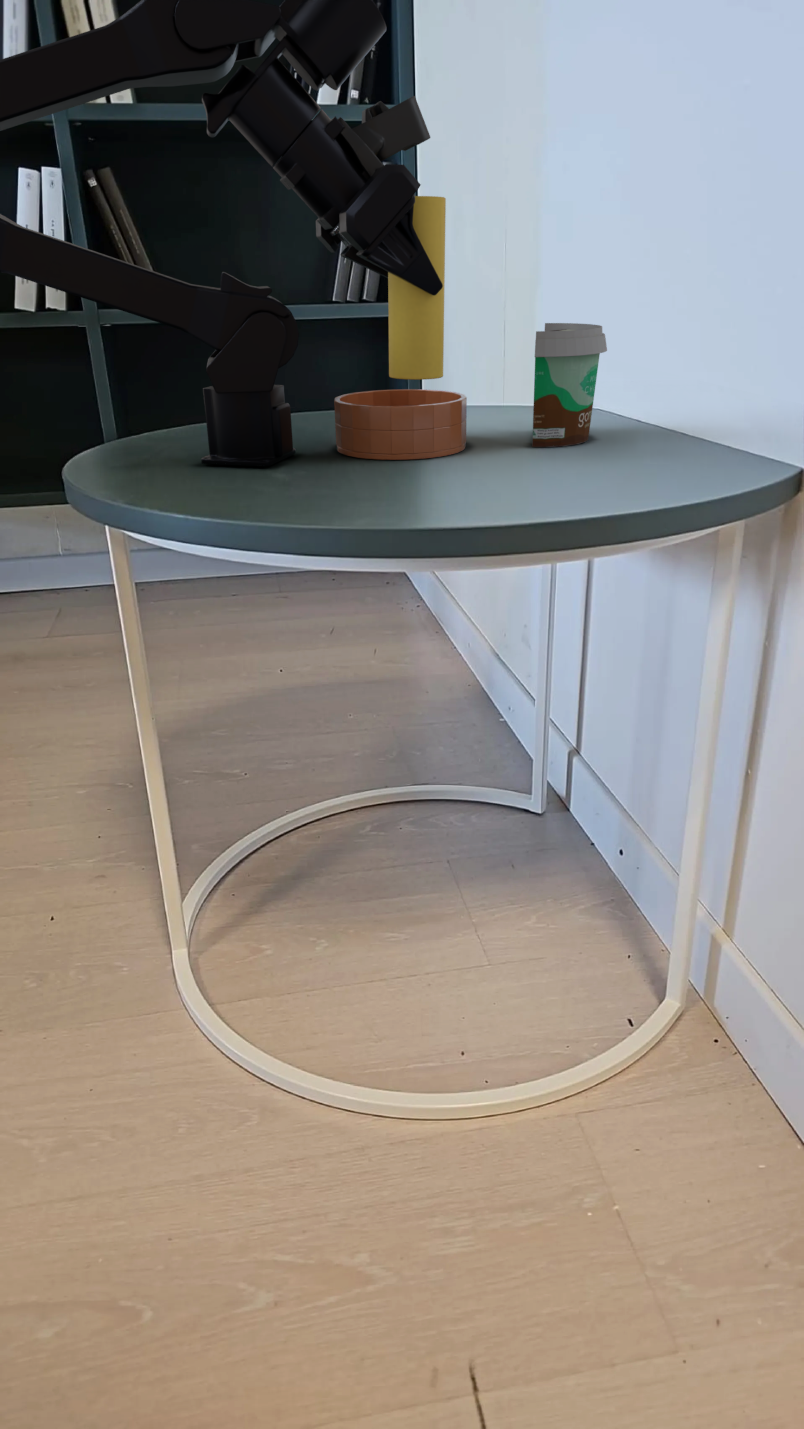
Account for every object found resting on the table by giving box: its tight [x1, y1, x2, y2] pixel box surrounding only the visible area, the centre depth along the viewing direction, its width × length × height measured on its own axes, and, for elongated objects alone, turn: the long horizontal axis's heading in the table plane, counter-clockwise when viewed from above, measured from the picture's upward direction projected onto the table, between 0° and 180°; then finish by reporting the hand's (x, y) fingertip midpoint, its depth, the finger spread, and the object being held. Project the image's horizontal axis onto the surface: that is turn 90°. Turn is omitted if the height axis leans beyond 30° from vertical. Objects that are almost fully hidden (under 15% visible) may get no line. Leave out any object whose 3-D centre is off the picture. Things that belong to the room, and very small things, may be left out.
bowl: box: [333, 388, 468, 461], centre depth 89 cm, size 12×12×4 cm
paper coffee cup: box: [531, 322, 608, 448], centre depth 90 cm, size 12×6×10 cm, turn 168°
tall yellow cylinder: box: [387, 195, 447, 381], centre depth 82 cm, size 5×5×14 cm
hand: (431, 290), depth 82 cm, fingers closed on tall yellow cylinder, 5 cm apart
